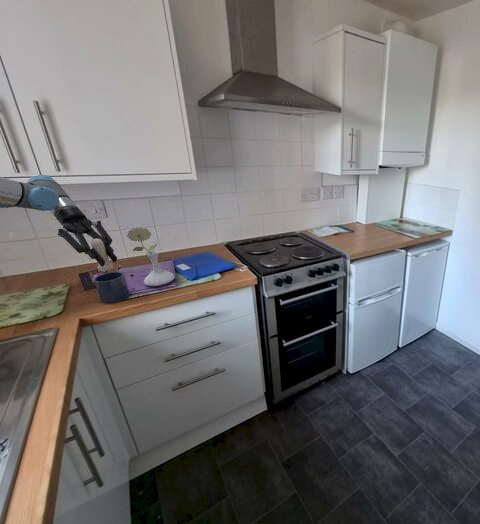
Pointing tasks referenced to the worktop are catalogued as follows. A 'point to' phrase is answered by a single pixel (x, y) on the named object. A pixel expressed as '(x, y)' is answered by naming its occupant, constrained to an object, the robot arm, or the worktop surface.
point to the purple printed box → (89, 278)
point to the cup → (112, 287)
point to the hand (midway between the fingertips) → (109, 262)
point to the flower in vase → (157, 274)
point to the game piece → (101, 254)
